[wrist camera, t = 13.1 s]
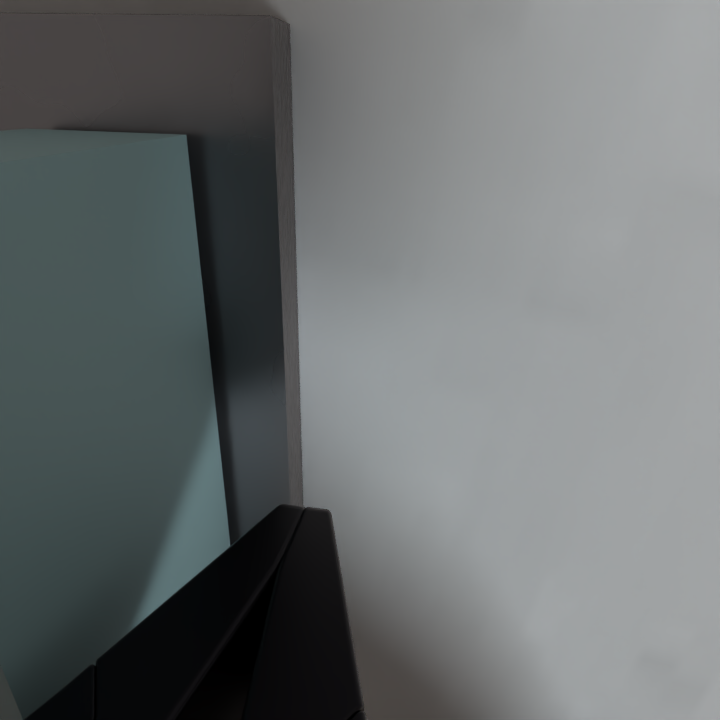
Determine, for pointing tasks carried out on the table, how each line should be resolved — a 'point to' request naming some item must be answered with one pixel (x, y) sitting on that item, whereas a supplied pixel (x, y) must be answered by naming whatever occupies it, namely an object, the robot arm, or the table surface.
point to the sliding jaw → (98, 400)
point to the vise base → (199, 196)
